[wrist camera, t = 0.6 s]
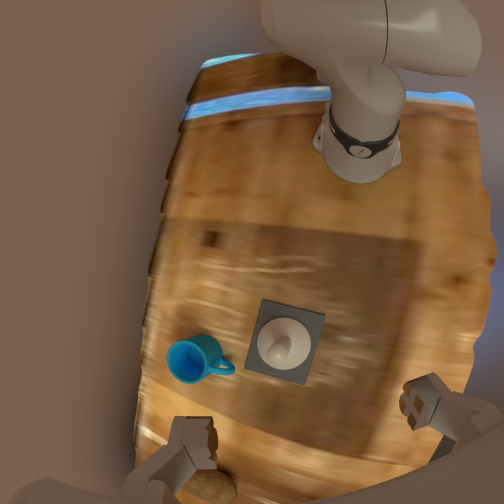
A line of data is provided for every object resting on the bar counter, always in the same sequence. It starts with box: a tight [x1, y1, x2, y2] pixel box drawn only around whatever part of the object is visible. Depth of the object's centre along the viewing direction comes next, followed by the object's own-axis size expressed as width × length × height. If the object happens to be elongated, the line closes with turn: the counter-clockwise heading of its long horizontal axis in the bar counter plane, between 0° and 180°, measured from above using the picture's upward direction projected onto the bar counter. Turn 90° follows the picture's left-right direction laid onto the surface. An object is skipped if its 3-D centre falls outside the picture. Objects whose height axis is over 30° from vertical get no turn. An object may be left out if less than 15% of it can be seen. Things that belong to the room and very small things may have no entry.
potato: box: [182, 469, 238, 504], centre depth 46 cm, size 10×14×8 cm
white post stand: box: [257, 317, 311, 370], centre depth 46 cm, size 10×10×10 cm
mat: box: [245, 300, 325, 385], centre depth 51 cm, size 14×12×1 cm
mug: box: [167, 334, 235, 384], centre depth 50 cm, size 12×8×8 cm
